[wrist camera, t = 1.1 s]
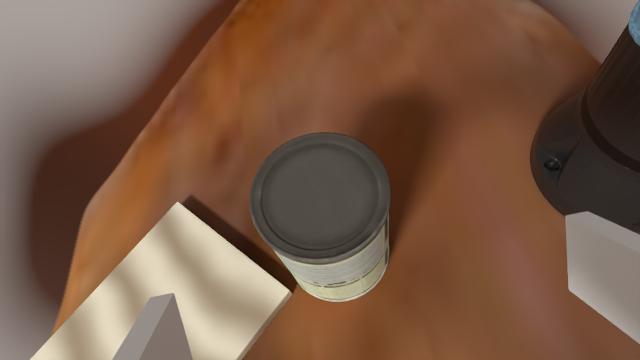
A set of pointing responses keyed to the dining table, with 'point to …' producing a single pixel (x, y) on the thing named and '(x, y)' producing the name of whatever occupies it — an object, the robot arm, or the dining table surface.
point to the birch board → (176, 295)
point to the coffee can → (325, 213)
